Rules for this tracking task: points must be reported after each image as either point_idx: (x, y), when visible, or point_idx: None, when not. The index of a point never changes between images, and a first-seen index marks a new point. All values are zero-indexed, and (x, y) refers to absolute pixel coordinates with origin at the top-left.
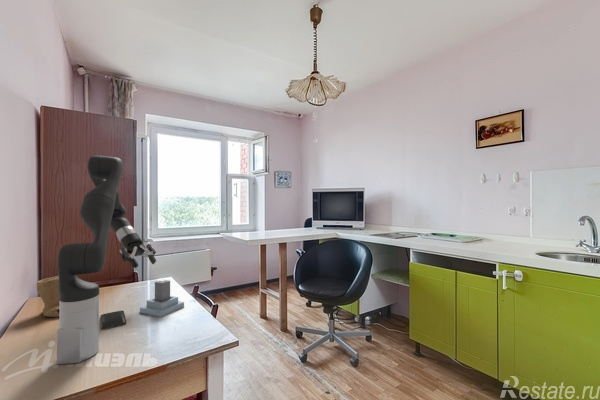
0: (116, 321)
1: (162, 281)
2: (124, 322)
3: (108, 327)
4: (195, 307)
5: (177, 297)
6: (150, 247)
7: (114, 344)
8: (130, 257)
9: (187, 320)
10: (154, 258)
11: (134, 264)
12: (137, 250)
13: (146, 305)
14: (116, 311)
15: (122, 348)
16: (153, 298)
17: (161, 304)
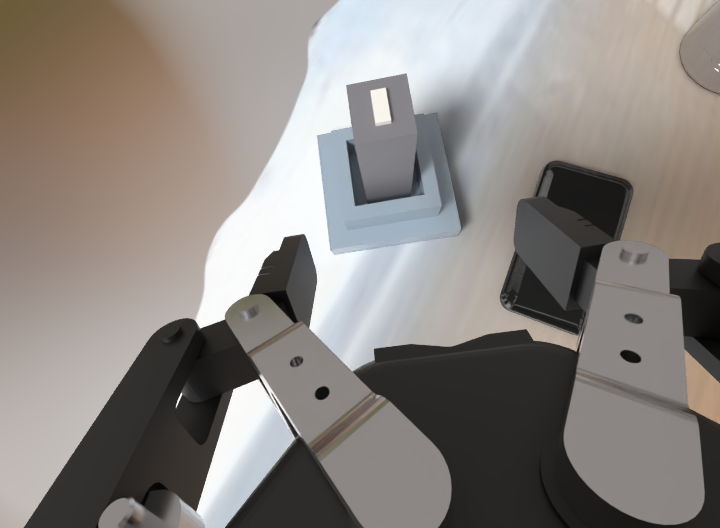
0: (569, 202)
1: (387, 97)
2: (553, 164)
3: (607, 177)
4: (305, 106)
5: (335, 130)
6: (115, 464)
7: (632, 46)
8: (664, 265)
9: (397, 32)
10: (268, 270)
11: (566, 211)
12: (514, 399)
13: (438, 213)
14: (527, 314)
15: (623, 7)
16: (404, 208)
17: (422, 116)
